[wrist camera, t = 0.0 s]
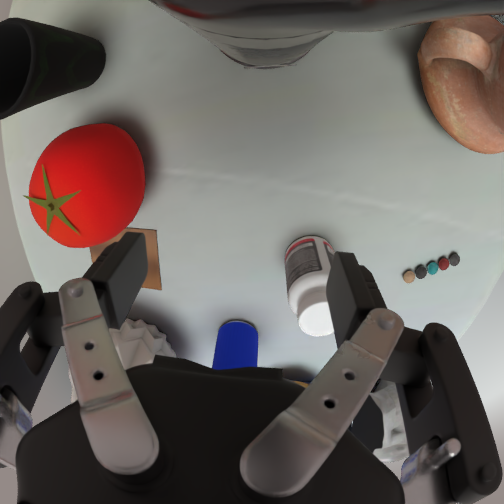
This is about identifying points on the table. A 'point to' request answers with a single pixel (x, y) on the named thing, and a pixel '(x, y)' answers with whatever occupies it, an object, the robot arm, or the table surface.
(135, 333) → the vase
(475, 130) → the ceramic jug
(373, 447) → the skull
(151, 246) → the copper coaster
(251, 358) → the beverage can
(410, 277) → the beads
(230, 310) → the table surface
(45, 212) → the tomato
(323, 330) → the pill bottle
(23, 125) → the table surface
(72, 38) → the cup
